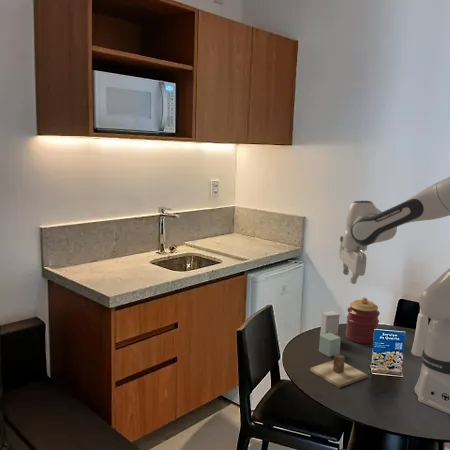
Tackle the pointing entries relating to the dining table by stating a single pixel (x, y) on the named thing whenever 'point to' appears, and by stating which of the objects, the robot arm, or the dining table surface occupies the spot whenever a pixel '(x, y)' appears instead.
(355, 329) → the canister
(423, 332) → the cosmetic bottle
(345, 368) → the post board
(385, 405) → the dining table surface
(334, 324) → the skincare box
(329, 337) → the pale green cube
